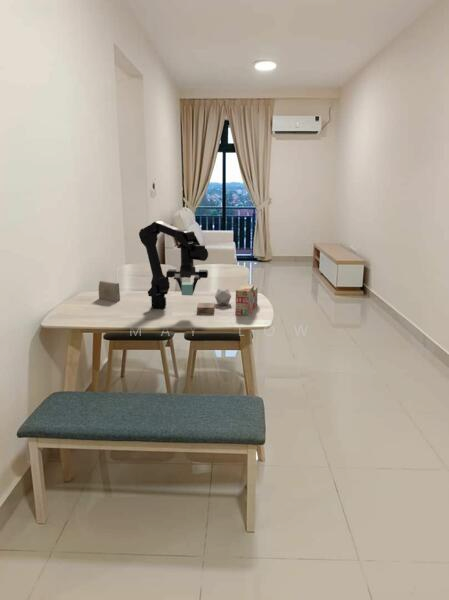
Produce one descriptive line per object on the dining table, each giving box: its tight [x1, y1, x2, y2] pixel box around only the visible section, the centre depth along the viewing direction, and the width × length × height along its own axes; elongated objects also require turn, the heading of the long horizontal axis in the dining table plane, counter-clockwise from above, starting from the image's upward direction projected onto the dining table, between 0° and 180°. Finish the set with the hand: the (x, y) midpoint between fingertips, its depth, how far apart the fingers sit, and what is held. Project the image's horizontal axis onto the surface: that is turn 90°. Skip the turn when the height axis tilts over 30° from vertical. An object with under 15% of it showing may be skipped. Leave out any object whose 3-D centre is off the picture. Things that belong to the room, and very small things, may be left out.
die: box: [214, 288, 232, 306], centre depth 227 cm, size 8×9×10 cm
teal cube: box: [181, 281, 195, 296], centre depth 207 cm, size 5×5×5 cm
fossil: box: [98, 280, 121, 303], centre depth 233 cm, size 12×4×10 cm, turn 62°
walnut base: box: [196, 302, 215, 315], centre depth 215 cm, size 8×8×3 cm
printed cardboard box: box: [234, 283, 258, 316], centre depth 218 cm, size 21×6×12 cm, turn 164°
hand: (187, 291), depth 207 cm, fingers closed on teal cube, 5 cm apart
